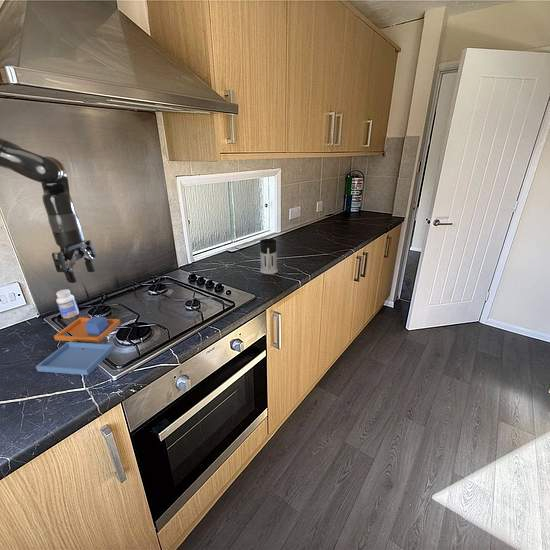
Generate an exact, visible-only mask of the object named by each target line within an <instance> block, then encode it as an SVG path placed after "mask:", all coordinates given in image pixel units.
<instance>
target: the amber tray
mask: <svg viewBox="0 0 550 550" xmlns="http://www.w3.org/2000/svg"><path fill="white" fill-rule="evenodd" d="M91 318H92V317H78V318H77V319H76V320H74V321H73V322H71V323H69V324H68V325H67V326H66V327H64V328H63V329H61V330H60V331H59V332H57V333H55V335H53V338H54V341H64V342H77V341H79V343H95V344H100V342H102V341H103V340H104V339H105V338H107V336H108V335H110V334H111V333H112V332H113V330H115V329H116V328H117V327H118V326H120V325H121V320H120V319H118V318H106V319H107V323H108V326H109V328H107V329H106V330H105V331H104V332H103V333H102V334H100V335H99V336H94V335H88V333H87V330H86V327H85V323H86V322H87V321H89V320H90V319H91ZM67 332H68V333H70V334H72V335H73V336H64V334H65V333H67Z"/></svg>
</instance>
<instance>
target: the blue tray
mask: <svg viewBox="0 0 550 550" xmlns="http://www.w3.org/2000/svg"><path fill="white" fill-rule="evenodd" d="M81 348H85V349H84V350H82V349H81ZM114 350H115V345H114V344H109V343H93V342H77V341H66V342H65V343H64V344H63V345H61V346H60V347H58V349H56V350H55V351H54V352H52V353H51V354H50V355H48V356H47V357H46V358H45V359H43V360H41V362H39V363H38V364H37V365H36V366H35V369H36V370H37V372H44V373H55V374H68V375H80V376H81V375H82V376H89V375H90V374H91V373H92V372H93V371H94V370H95V369H96V368H98V366H99V365H100V364H101V363H102V362H103V361H104V360H105V359H106V358H107V357H108V356H109V355H110V354H111V353H112V352H114Z"/></svg>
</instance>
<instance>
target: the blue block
mask: <svg viewBox="0 0 550 550" xmlns="http://www.w3.org/2000/svg"><path fill="white" fill-rule="evenodd" d="M90 318H91V319H90V320H89V321H87V322H86V323H85V327H86V330H87V333H88V335H94V336H99V335H100V334H102V333H103V332H104V331H105V330H106V329H107V328H109V326H108V323H107V319H108V318H107V317H106V316H92V317H90Z"/></svg>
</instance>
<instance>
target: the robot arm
mask: <svg viewBox="0 0 550 550" xmlns="http://www.w3.org/2000/svg"><path fill="white" fill-rule="evenodd" d="M0 167H1V168H4V169H7V170H11V171H13V172H14V173H17V174H19V175H20V176H23V177H25V178H27V179H29V180H32V181H34V182H37V183H40V184H41V188H42V191H43V194H42V197H41V199H42V203H43V206H44V209H45V212H46V215H47V220H48V224H49V226H50V230H51V232H52V235H53V239H54V242H55V245H57V247H59V248H60V249H59V250H60V251H57V252H52V253H51V257H52V261H53V264H54V267H55V270H56V272H57V273H63V274H64V276H65V278H66V281H67V283H69V284H75V283H77V278H76V275H75V272H74V270H73V269H74V265H76V263H77V261H79V260H80V259H82V260H83V261H84V264H85V268H86V271H87V273H94V272H95V271H96V267H95V264H94V259H95V258H97V252H96V250H95V247H94V244H93V241H92V240H90V239H89V240H88V239H86V237H85V234H84V230H83V228H82V224H81V221H80V217H79V216H78V213H77V211H76V208H75V205H74V202H73V201H74V200H73V198H72V196H71V192H70V185H69V179H68V174H67V171H66V168H65V166H64V165H63V163H62V162H61V161H60V160H58V159H57V158H55V157H53V156H44V155H40V154H37V153H35V152H32V151H29V150H27V149H25V148H22V147H21V146H20V145H18V144H16V143H14V142H11V141H10V140H7V139H4V138H1V137H0Z"/></svg>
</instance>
